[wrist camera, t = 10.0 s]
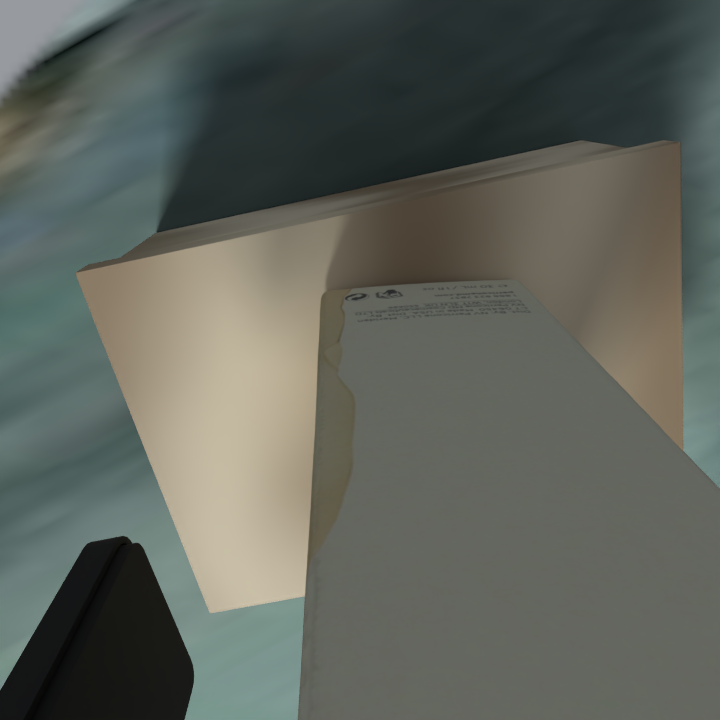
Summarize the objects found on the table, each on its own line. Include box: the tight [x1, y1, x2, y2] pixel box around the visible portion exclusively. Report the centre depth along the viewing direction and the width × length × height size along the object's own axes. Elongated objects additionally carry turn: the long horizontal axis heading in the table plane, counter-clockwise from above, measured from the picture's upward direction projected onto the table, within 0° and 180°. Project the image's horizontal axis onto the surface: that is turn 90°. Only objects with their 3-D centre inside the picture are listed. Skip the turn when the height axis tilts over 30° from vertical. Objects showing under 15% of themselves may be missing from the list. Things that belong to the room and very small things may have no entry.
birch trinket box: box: [75, 140, 683, 613], centre depth 17 cm, size 12×9×5 cm
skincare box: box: [298, 279, 720, 720], centre depth 9 cm, size 6×4×12 cm
